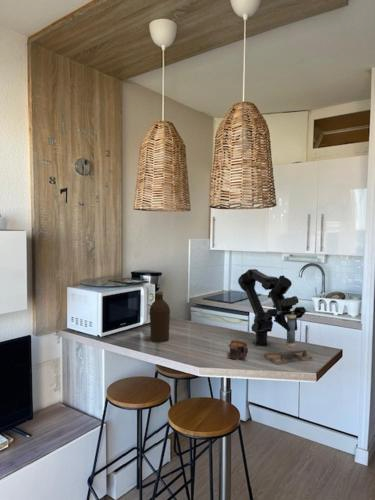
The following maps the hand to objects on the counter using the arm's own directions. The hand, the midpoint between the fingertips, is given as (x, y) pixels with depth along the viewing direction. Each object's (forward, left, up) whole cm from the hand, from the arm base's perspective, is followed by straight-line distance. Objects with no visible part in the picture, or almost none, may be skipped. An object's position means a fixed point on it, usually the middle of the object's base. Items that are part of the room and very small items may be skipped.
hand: (292, 330), depth 158 cm
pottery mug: (+2, -23, -14) cm, 27 cm away
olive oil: (-12, -67, -13) cm, 69 cm away
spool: (-1, -1, -7) cm, 7 cm away
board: (-3, -2, -13) cm, 14 cm away
